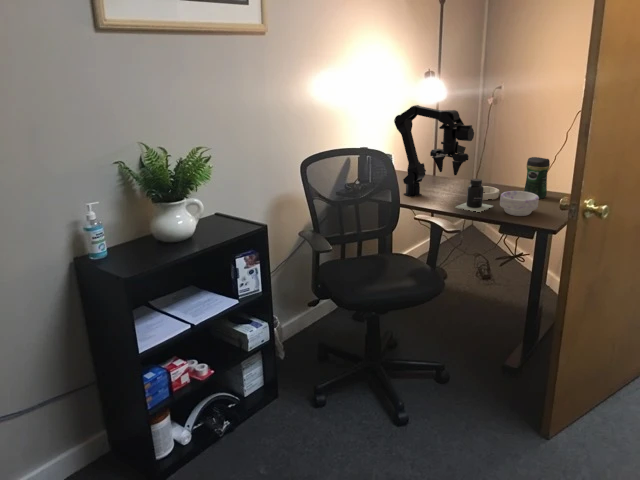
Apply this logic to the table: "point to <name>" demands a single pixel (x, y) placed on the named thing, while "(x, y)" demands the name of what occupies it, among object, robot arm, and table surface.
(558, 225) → the table surface
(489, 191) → the ring holder
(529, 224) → the table surface
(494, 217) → the table surface
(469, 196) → the supplement bottle
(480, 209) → the mat
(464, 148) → the robot arm
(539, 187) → the coffee jar
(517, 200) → the paper bowls
